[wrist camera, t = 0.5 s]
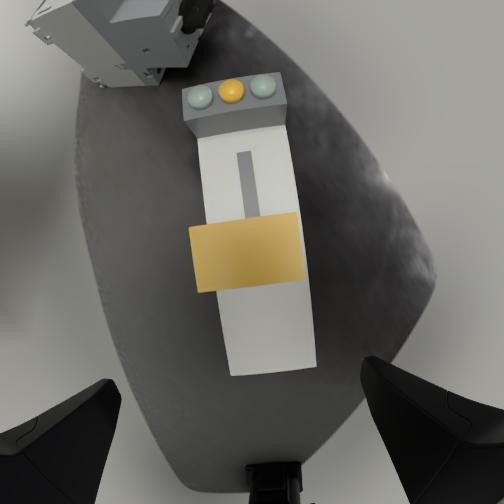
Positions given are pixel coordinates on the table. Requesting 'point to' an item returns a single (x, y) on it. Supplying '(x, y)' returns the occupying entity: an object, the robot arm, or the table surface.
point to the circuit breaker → (123, 36)
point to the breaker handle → (247, 252)
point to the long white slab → (252, 214)
